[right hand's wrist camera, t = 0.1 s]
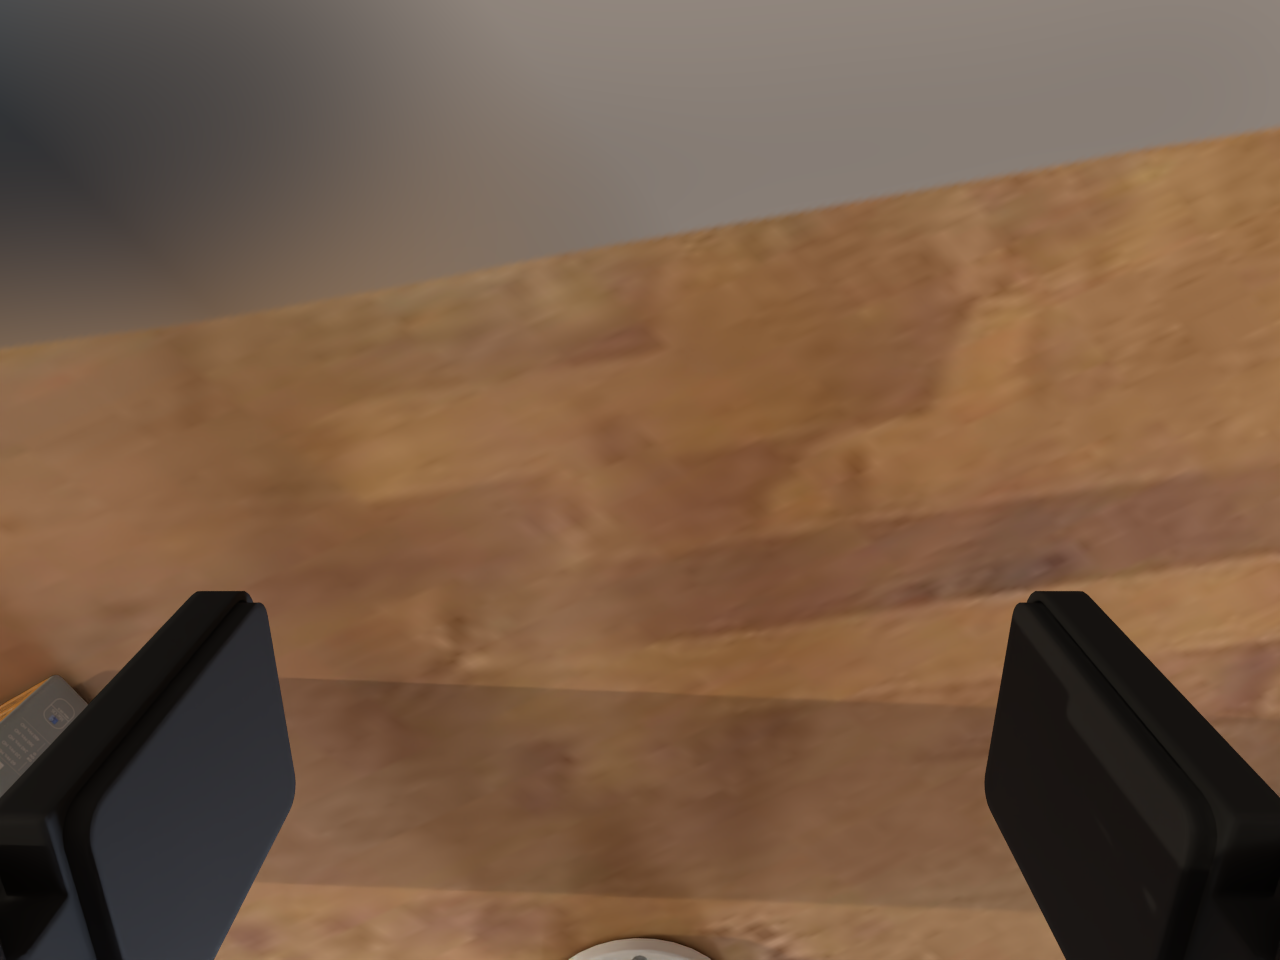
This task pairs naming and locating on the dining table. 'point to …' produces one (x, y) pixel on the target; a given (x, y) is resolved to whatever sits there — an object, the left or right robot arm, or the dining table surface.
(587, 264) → the dining table surface
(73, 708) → the hard drive box
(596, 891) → the dining table surface
